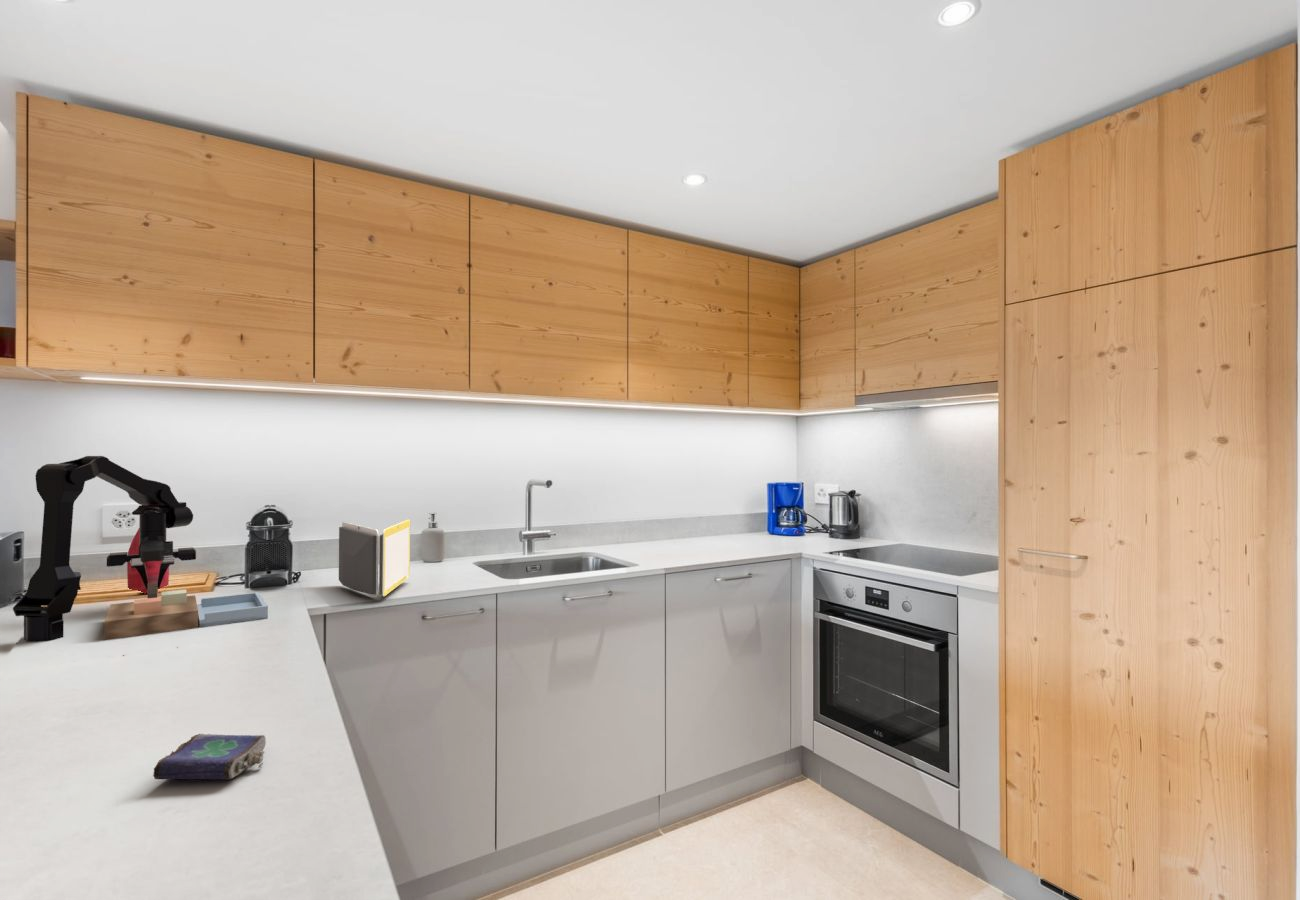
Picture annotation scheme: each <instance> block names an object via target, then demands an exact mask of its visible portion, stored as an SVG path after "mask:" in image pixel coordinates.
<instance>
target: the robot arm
mask: <svg viewBox="0 0 1300 900" xmlns="http://www.w3.org/2000/svg"><path fill="white" fill-rule="evenodd" d="M96 478H99V479H101V480H103V481H105V482H107V483H109V484H111V485H113V486H115V487H117V488H119V489H121V490H123V491H124V492H126V493H127V494H128V497H129V498H130V499H131V500H133V501H134V502H135V503H137V504H138V505H139V506H138V507H137V508H136V509H134V510H133V511H132V512H131V515H134V516H139V518H138V521H139V522H138V523H139V524H138V525H139V527H138V529H139V554H135V555H128V552H127V551H125V552H110V553H109V554H108V555H107V556H106V567H120V566H121V567H122V566H124V565H125V564H127V562H130V563H131V566H130V568H136V569H137V571H138V572H139V574H140V576H141V578H142V580H143V583H144V585H145V588H146V590H148V578H147V571H146V565H145V562H148V561H161V564H160V570H159V576H158V589H159V588H160V585H161V582H162V580H163V577H164V574H165V572H166V571H167V569H168V567H169V568H170V566H172V565H175V561H176V559H179V560H180V561H194V560H196V559H197V550H196V548H194V547H180V548H177V551H174V541H173V540H169V541H167V529H172V528H180V527H186V526H189V525H191V524H192V522H193V520H194V513H193V512H192V510H191V508H190V507H188V506H187V502H186V501H185V502H183V501H181V502H179V500H177V498H176V496H175V495H174V493H173V492H172V490H171V489H172V488H171V486H170V485H168V484H167V483H163V482H160V481H157V480H151V479H146V478H143V477H141V476H140V475H137V474H135V473H134V472H132V471H130V470H128V469H126V468H124V467H122V466H121V465H119V464H117V463H115V462H114V461H111V460H110V459H109V458H108V457H106V456H103V455H86V456H84V457H80V458H78V459H73V460H69V461H64V462H60V463H46V464H43V465H42V466H41V467H40V468H38V469H37V471H36V472H35V485H36V487H35V488H36V491H37V493H38V494H39V496H40V497H41V499H42V501H43V505H44V506H43V520H42V531H41V532H42V533H41V544H40V545H41V546H40V557H39V559H40V560H39V567H38V568H37V569H36V571H35V572H34V574H33V575H32V576H31V577H30V578H29V582H28V586H27V591H26V592H25V594H24V595H23V596H22V597H21V598H20V599H19V600H18V601H17V602H16V604H15V605H14V606H13V607H12V610H13V613H14V615H15V617H21V616H22V617H23V640H24V641H26V642H27V643H36V642H38V643H39V642H48V641H50V642H51V641H54V640H55V641H56V640H59V639H62V638H64V629H65V628H64V624H65V623H64V618H63V615H64V614H68V613H71V611H72V609H73V606H74V602H75V599H76V598H77V596H78V592H79V591H81V590H82V588H81V586H80V584H81V583H80V582H81V577H82V575H81V572H80V571H73V569H72V567H71V566H70V559H71V558H70V557H71V556H70V555H71V545H72V543H71V542H72V531H73V530H72V529H73V517H74V516H73V514H74V504H75V502H76V500H77V499H78V497H80V495H81V494H82V493H83V491H84V487H85V483H86V482H87V481H90V480H93V479H96ZM142 505H145V506H142ZM15 644H16V645H17V644H18V642H16V643H15Z"/></svg>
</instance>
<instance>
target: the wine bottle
mask: <svg viewBox="0 0 1300 900" xmlns="http://www.w3.org/2000/svg"><path fill="white" fill-rule="evenodd" d="M141 506H145V505H141ZM135 554H139V528H138V529H137V530H136V533H135V535H134V536H133V539H132V540H131V543H130V545H129V549H128V552H127V555H135ZM160 564H161V561H148V562H145V565H146V571H147V578H149V576H159V570H160ZM130 566H131V563H130V562H126V567H127V569H126V576H127V589H128V588H129V589H132V590H138V591H141V592H143V593H144V594H143V595H147V594H146V593H147V591H148V590H146V588H145V585H144V583H143V580H142V578H141V576H140V574H139V572H138V571H137V569H136V568H130ZM169 581H170V566H169V567H168V569H167V571H166V572H165V574H164V577H163V580H162V582H161V585H160V588H162V587H164V586H167V585H168V586H169ZM160 588H159V589H160Z"/></svg>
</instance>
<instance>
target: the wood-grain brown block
mask: <svg viewBox="0 0 1300 900" xmlns="http://www.w3.org/2000/svg"><path fill="white" fill-rule="evenodd" d="M134 602H135V601H131V602H129V601H128V602H122V603H121V602H120V603H112V604H110V605H109V607H108V608H109V609H108V611H107V613H106V617H105V619H104V622H103V624H104V628H103V629H104V630H103V631H104V632H103V633H104V634H103V637H104V638H103V639H104V641H105V640H113V639H120V638H121V639H122V638H130V637H136V636H145V635H151V634H159V633H166V632H175V631H181V630H187V629H195V628H196V629H198V628H199V621H198V607H197V605H198V604H197V598H196V595H187V603H181V604H173V605H164V606H161V612H153V613H144V614H136V615H134Z"/></svg>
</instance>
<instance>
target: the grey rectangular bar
mask: <svg viewBox="0 0 1300 900" xmlns="http://www.w3.org/2000/svg"><path fill="white" fill-rule="evenodd" d="M146 595H147V598H157V597H158V596H159V592H158V576H149V578H148V591H147V594H146ZM147 598H146V599H147Z"/></svg>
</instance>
